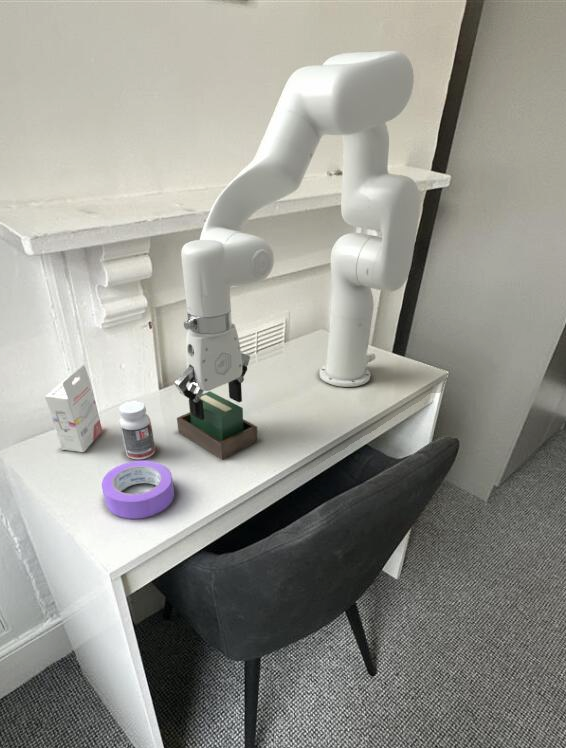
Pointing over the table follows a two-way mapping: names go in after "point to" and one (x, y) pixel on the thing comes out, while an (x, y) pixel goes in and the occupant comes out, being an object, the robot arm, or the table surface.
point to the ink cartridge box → (75, 412)
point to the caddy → (215, 445)
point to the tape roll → (142, 502)
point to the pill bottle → (136, 430)
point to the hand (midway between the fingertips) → (217, 408)
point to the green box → (219, 417)
